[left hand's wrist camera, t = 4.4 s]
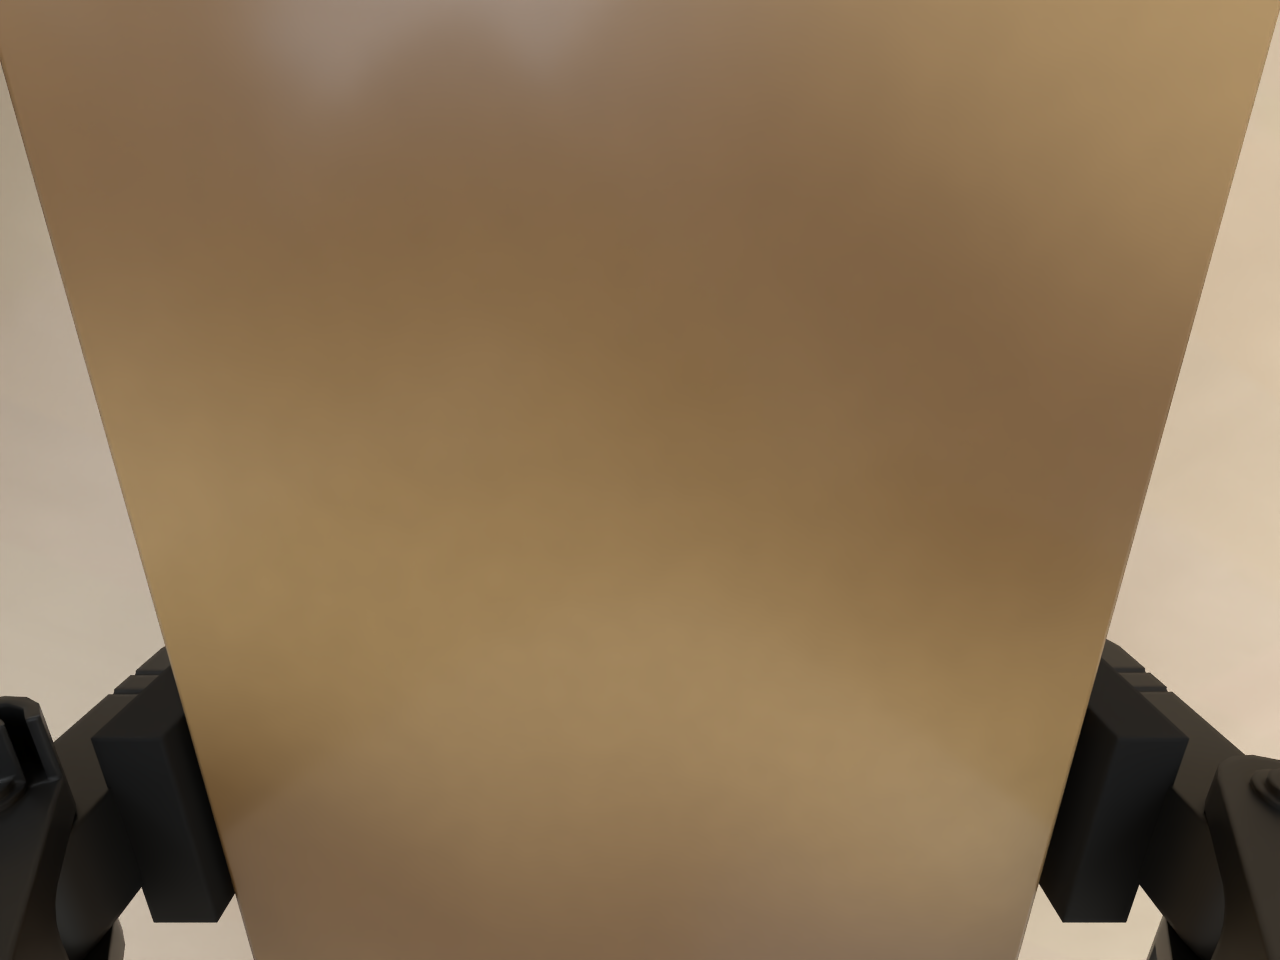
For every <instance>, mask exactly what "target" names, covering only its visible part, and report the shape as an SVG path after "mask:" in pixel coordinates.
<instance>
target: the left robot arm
mask: <svg viewBox="0 0 1280 960" xmlns="http://www.w3.org/2000/svg"><path fill="white" fill-rule="evenodd" d="M1166 688H1167V687H1166V686H1165V685H1164V684H1163V683H1161V682H1160V681H1159V680H1158V679H1157V678H1156V677H1154V676H1153V675H1152V674H1151V673H1146V672H1145V668H1144V667H1143V666H1142V665H1141V664H1139V663H1138V662H1137V661H1136V660H1135V659H1134V658H1132V657H1131V656H1130V655H1129V654H1128V653H1127V652H1126V651H1124V650H1123V649H1122V648H1121V647H1120V646H1118V645H1116V644H1114V643H1113V642H1111V641H1109V640H1107V639H1106V641H1105V644H1104V648H1103V652H1102V655H1101V659H1100V663H1099V666H1098V670H1097V673H1096V677H1095V681H1094V684H1093V688H1092V692H1091V695H1090V699H1089V702H1088V706H1087V710H1086V713H1085V717H1084V721H1083V724H1082V728H1081V731H1080V735H1079V739H1078V742H1077V746H1076V750H1075V753H1074V757H1073V760H1072V764H1071V768H1070V771H1069V775H1068V779H1067V782H1066V786H1065V789H1064V793H1063V797H1062V800H1061V804H1060V808H1059V811H1058V815H1057V818H1056V822H1055V826H1054V829H1053V833H1052V837H1051V840H1050V844H1049V847H1048V851H1047V855H1046V858H1045V862H1044V866H1043V869H1042V873H1041V876H1040V880H1039V884H1040V886H1041V888H1042V889H1043V891H1044V893H1045V894H1046V896H1047V897H1048V899H1049V901H1050V902H1051V904H1052V906H1053V907H1054V909H1055V910H1056V912H1057V914H1058V915H1059V917H1060V919H1061V920H1062V922H1126V921H1127V918H1128V916H1129V913H1130V910H1131V907H1132V904H1133V901H1134V898H1135V895H1136V892H1137V889H1138V887H1139V885H1140V886H1141V887H1142V888H1143V890H1144V891H1145V892H1146V894H1147V895H1148V896H1149V898H1150V899H1151V900H1152V902H1153V903H1154V904H1155V905H1156V907H1157V908H1158V909H1159V911H1160V912H1161V913H1162V915H1163V916H1162V919H1161V922H1160V925H1159V927H1158V930H1157V933H1156V935H1155V938H1154V941H1153V944H1152V946H1151V949H1150V952H1149V954H1148V957H1147V960H1280V760H1276V759H1271V758H1266V757H1261V756H1256V755H1245V754H1243V753H1242V752H1241V751H1240V750H1239V749H1238V748H1236V747H1235V746H1234V745H1233V744H1232V743H1231V742H1230V741H1228V740H1227V739H1226V738H1225V737H1224V736H1223V735H1221V734H1220V733H1219V732H1218V731H1217V730H1216V729H1215V728H1213V727H1212V726H1211V725H1210V724H1209V723H1208V722H1206V721H1205V720H1204V719H1203V718H1202V717H1201V716H1199V715H1198V714H1197V713H1196V712H1195V711H1194V710H1193V709H1191V708H1190V707H1189V706H1188V705H1187V704H1186V703H1184V702H1183V701H1182V700H1181V699H1180V698H1179V697H1178V696H1176V695H1175V694H1174V693H1173V692H1167V689H1166ZM141 887H142V889H143V892H144V895H145V898H146V901H147V904H148V907H149V910H150V913H151V916H152V918H153V921H154V922H218V920H219V919H220V917H221V915H222V914H223V912H224V910H225V909H226V907H227V906H228V904H229V902H230V901H231V899H232V897H233V896H234V894H235V891H234V887H233V884H232V880H231V876H230V873H229V869H228V866H227V862H226V859H225V855H224V852H223V848H222V845H221V841H220V837H219V834H218V830H217V827H216V823H215V820H214V816H213V813H212V809H211V806H210V802H209V799H208V795H207V791H206V788H205V784H204V781H203V777H202V774H201V770H200V767H199V763H198V760H197V756H196V752H195V749H194V745H193V742H192V738H191V735H190V731H189V728H188V724H187V721H186V717H185V713H184V710H183V706H182V703H181V699H180V696H179V692H178V689H177V685H176V682H175V678H174V674H173V671H172V667H171V664H170V660H169V657H168V653H167V650H166V646H165V647H163V648H161V649H160V650H159V651H158V652H157V653H156V654H154V655H153V656H152V657H151V658H150V659H149V660H148V661H146V662H145V663H144V664H143V665H142V666H141V667H140V668H138V669H137V670H136V674H135V675H130V676H129V677H128V678H127V679H126V680H125V681H123V682H122V683H121V684H120V685H119V686H118V687H117V688H115V689H114V694H109V695H107V696H106V697H105V698H104V699H103V700H102V701H101V702H99V703H98V704H97V705H96V706H95V707H94V708H92V709H91V710H90V711H89V712H88V713H87V714H86V715H84V716H83V717H82V718H81V719H80V720H79V721H78V722H76V723H75V724H74V725H73V726H72V727H71V728H70V729H68V730H67V731H66V732H65V733H64V734H63V735H61V736H60V737H59V738H58V739H57V740H56V741H55V742H53V740H52V738H51V735H50V732H49V729H48V727H47V724H46V721H45V719H44V716H43V713H42V710H41V708H40V705H39V703H37V702H35V701H33V700H31V699H29V698H27V697H12V696H3V697H0V960H123V957H124V949H125V942H124V936H123V930H122V927H121V925H120V922H119V919H118V917H119V916H120V915H121V913H122V912H123V911H124V909H125V908H126V907H127V905H128V904H129V903H130V901H131V900H132V899H133V897H134V896H135V895H136V893H137V892H138V891H139V890H140V888H141Z"/></svg>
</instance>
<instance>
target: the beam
mask: <svg viewBox="0 0 1280 960" xmlns="http://www.w3.org/2000/svg"><path fill="white" fill-rule="evenodd" d="M1279 10H1280V0H0V61H1V65H2V68H3V72H4V76H5V79H6V83H7V86H8V90H9V93H10V97H11V100H12V104H13V107H14V111H15V115H16V118H17V122H18V125H19V129H20V132H21V136H22V139H23V143H24V146H25V150H26V154H27V157H28V161H29V164H30V168H31V171H32V175H33V178H34V182H35V185H36V189H37V192H38V196H39V200H40V203H41V207H42V210H43V214H44V217H45V221H46V224H47V228H48V231H49V235H50V239H51V242H52V246H53V249H54V253H55V256H56V260H57V263H58V267H59V270H60V274H61V278H62V281H63V285H64V288H65V292H66V295H67V299H68V302H69V306H70V309H71V313H72V317H73V320H74V324H75V327H76V331H77V334H78V338H79V341H80V345H81V348H82V352H83V356H84V359H85V363H86V366H87V370H88V373H89V377H90V380H91V384H92V387H93V391H94V394H95V398H96V402H97V405H98V409H99V412H100V416H101V419H102V423H103V426H104V430H105V433H106V437H107V441H108V444H109V448H110V451H111V455H112V458H113V462H114V465H115V469H116V472H117V476H118V480H119V483H120V487H121V490H122V494H123V497H124V501H125V504H126V508H127V511H128V515H129V519H130V522H131V526H132V529H133V533H134V536H135V540H136V543H137V547H138V550H139V554H140V558H141V561H142V565H143V568H144V572H145V575H146V579H147V582H148V586H149V589H150V593H151V597H152V600H153V604H154V607H155V611H156V614H157V618H158V621H159V625H160V628H161V632H162V635H163V639H164V643H165V646H166V650H167V653H168V657H169V660H170V664H171V667H172V671H173V674H174V678H175V682H176V685H177V689H178V692H179V696H180V699H181V703H182V706H183V710H184V713H185V717H186V721H187V724H188V728H189V731H190V735H191V738H192V742H193V745H194V749H195V752H196V756H197V760H198V763H199V767H200V770H201V774H202V777H203V781H204V784H205V788H206V791H207V795H208V799H209V802H210V806H211V809H212V813H213V816H214V820H215V823H216V827H217V830H218V834H219V837H220V841H221V845H222V848H223V852H224V855H225V859H226V862H227V866H228V869H229V873H230V876H231V880H232V884H233V887H234V891H235V894H236V898H237V901H238V905H239V908H240V912H241V915H242V919H243V923H244V926H245V930H246V933H247V937H248V940H249V944H250V947H251V951H252V954H253V958H254V960H1018V956H1019V953H1020V949H1021V945H1022V942H1023V938H1024V934H1025V931H1026V927H1027V924H1028V920H1029V916H1030V913H1031V909H1032V905H1033V902H1034V898H1035V895H1036V891H1037V887H1038V884H1039V880H1040V876H1041V873H1042V869H1043V866H1044V862H1045V858H1046V855H1047V851H1048V847H1049V844H1050V840H1051V837H1052V833H1053V829H1054V826H1055V822H1056V818H1057V815H1058V811H1059V808H1060V804H1061V800H1062V797H1063V793H1064V789H1065V786H1066V782H1067V779H1068V775H1069V771H1070V768H1071V764H1072V760H1073V757H1074V753H1075V750H1076V746H1077V742H1078V739H1079V735H1080V731H1081V728H1082V724H1083V721H1084V717H1085V713H1086V710H1087V706H1088V702H1089V699H1090V695H1091V692H1092V688H1093V684H1094V681H1095V677H1096V673H1097V670H1098V666H1099V663H1100V659H1101V655H1102V652H1103V648H1104V644H1105V641H1106V637H1107V634H1108V630H1109V626H1110V623H1111V619H1112V615H1113V612H1114V608H1115V605H1116V601H1117V597H1118V594H1119V590H1120V586H1121V583H1122V579H1123V576H1124V572H1125V568H1126V565H1127V561H1128V557H1129V554H1130V550H1131V547H1132V543H1133V539H1134V536H1135V532H1136V528H1137V525H1138V521H1139V518H1140V514H1141V510H1142V507H1143V503H1144V499H1145V496H1146V492H1147V489H1148V485H1149V481H1150V478H1151V474H1152V470H1153V467H1154V463H1155V460H1156V456H1157V452H1158V449H1159V445H1160V441H1161V438H1162V434H1163V431H1164V427H1165V423H1166V420H1167V416H1168V412H1169V409H1170V405H1171V402H1172V398H1173V394H1174V391H1175V387H1176V383H1177V380H1178V376H1179V373H1180V369H1181V365H1182V362H1183V358H1184V354H1185V351H1186V347H1187V344H1188V340H1189V336H1190V333H1191V329H1192V325H1193V322H1194V318H1195V315H1196V311H1197V307H1198V304H1199V300H1200V296H1201V293H1202V289H1203V286H1204V282H1205V278H1206V275H1207V271H1208V267H1209V264H1210V260H1211V257H1212V253H1213V249H1214V246H1215V242H1216V238H1217V235H1218V231H1219V228H1220V224H1221V220H1222V217H1223V213H1224V209H1225V206H1226V202H1227V199H1228V195H1229V191H1230V188H1231V184H1232V180H1233V177H1234V173H1235V170H1236V166H1237V162H1238V159H1239V155H1240V151H1241V148H1242V144H1243V141H1244V137H1245V133H1246V130H1247V126H1248V122H1249V119H1250V115H1251V112H1252V108H1253V104H1254V101H1255V97H1256V93H1257V90H1258V86H1259V83H1260V79H1261V75H1262V72H1263V68H1264V64H1265V61H1266V57H1267V54H1268V50H1269V46H1270V43H1271V39H1272V35H1273V32H1274V28H1275V25H1276V21H1277V17H1278V14H1279Z"/></svg>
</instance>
